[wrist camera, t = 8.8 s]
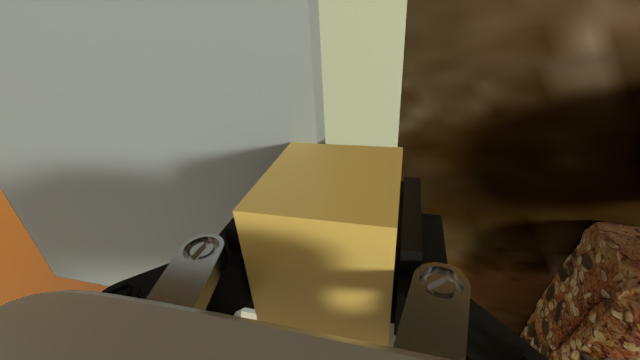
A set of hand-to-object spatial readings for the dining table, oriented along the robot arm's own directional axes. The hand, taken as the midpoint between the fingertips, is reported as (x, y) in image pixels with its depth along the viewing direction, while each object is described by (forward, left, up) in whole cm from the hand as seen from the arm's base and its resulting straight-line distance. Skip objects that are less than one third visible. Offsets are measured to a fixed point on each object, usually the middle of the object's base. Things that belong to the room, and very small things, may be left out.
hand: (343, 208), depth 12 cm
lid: (+9, 0, -3) cm, 9 cm away
